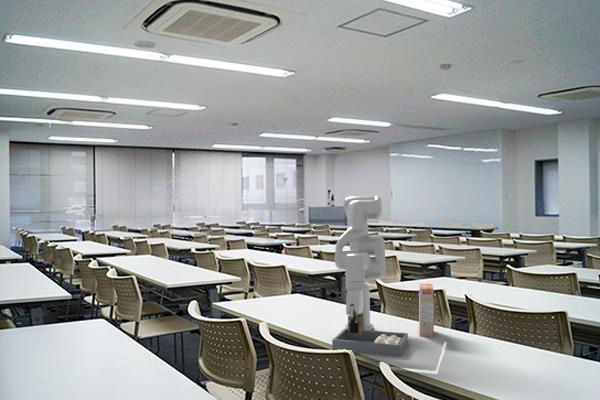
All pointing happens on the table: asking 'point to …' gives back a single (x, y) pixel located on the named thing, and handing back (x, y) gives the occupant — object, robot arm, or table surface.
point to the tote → (370, 343)
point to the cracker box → (426, 310)
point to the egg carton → (388, 339)
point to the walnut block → (360, 324)
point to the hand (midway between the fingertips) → (355, 330)
